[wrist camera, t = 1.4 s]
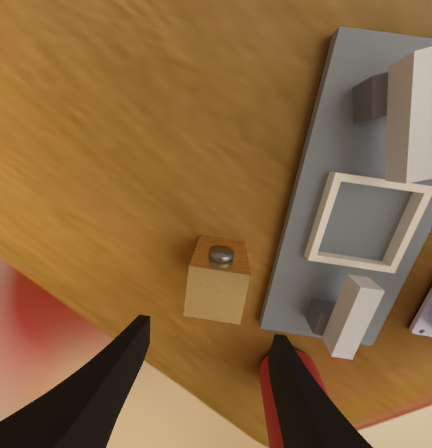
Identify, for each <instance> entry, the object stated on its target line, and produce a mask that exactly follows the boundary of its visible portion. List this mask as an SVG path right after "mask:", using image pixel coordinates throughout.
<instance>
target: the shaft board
mask: <svg viewBox="0 0 432 448" xmlns="http://www.w3.org/2000/svg"><path fill="white" fill-rule="evenodd" d="M431 229H432V38H426V37H419V36H411V35H404V34H396V33H388V32H381V31H373V30H366V29H358V28H351V27H343V26H339V28H338V29H337V30H336V31H335V32H334V34H333V35H332V38H331V42H330V46H329V50H328V54H327V58H326V62H325V66H324V70H323V73H322V77H321V81H320V85H319V89H318V93H317V97H316V101H315V105H314V109H313V112H312V116H311V120H310V124H309V128H308V132H307V136H306V140H305V144H304V148H303V151H302V155H301V159H300V163H299V167H298V171H297V175H296V179H295V183H294V187H293V190H292V194H291V198H290V202H289V206H288V210H287V214H286V218H285V222H284V226H283V229H282V233H281V237H280V241H279V245H278V249H277V253H276V257H275V261H274V265H273V268H272V272H271V276H270V280H269V284H268V288H267V292H266V296H265V300H264V303H263V307H262V311H261V315H260V319H259V325H260V329H266V330H273V331H279V332H285V333H292V334H298V335H304V336H311V337H317V338H322V340H323V342H324V344H325V345H326V347H327V349H328V351H329V353H330V355H331V356H332V357H338V358H345V359H351V360H352V359H353V357H354V355H355V353H356V351H357V349H358V347H359V345H360V344H362V345H368V346H372V345H373V343H374V341H375V340H376V338H377V336H378V334H379V332H380V330H381V328H382V326H383V324H384V322H385V320H386V318H387V316H388V314H389V312H390V310H391V308H392V306H393V304H394V302H395V300H396V298H397V296H398V294H399V292H400V290H401V288H402V286H403V284H404V282H405V280H406V278H407V276H408V274H409V272H410V270H411V268H412V266H413V264H414V262H415V260H416V258H417V256H418V254H419V252H420V250H421V248H422V246H423V245H424V243H425V241H426V239H427V237H428V235H429V233H430V231H431Z"/></svg>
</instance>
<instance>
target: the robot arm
mask: <svg viewBox="0 0 432 448" xmlns="http://www.w3.org/2000/svg"><path fill="white" fill-rule="evenodd" d="M409 330H410V331H411V332H412V333H413V334H417V335H424V336H430V337H432V288H431V290H430V291H429V293H428V295H427V297H426V298H425V300H424V302H423V304H422V306H421V307H420V309H419V311H418V313H417V315H416V316H415V318H414V320H413V322H412V323H411V325H410V327H409ZM149 344H150V316H145V315H139V316H137V318H136V319H135V320H134V321H133V322H132V323H131V324H130V325H129V326H128V327H127V328H126V329H125V330H124V331H123V332H121V333H120V334H119V335H118V336H117V337H116V338H115V339H114V340H113V341H112V342H111V343H110V344H109V345H108V346H107V347H105V348H104V349H103V350H102V351H101V352H99V353H98V354H97V355H96V356H95V357H94V358H92V359H91V360H90V361H89V362H88V363H86V364H85V365H84V366H83V367H81V368H80V369H79V370H77V371H76V372H75V373H73V374H72V375H71V376H69V377H68V378H67V379H65V380H64V381H63V382H61V383H60V384H58V385H57V386H55V387H54V388H53V389H51V390H50V391H48V392H47V393H45V394H44V395H42V396H41V397H39V398H38V399H36V400H34V401H33V402H31V403H30V404H28V405H27V406H25V407H23V408H22V409H20V410H18V411H17V412H15V413H14V414H12V415H10V416H9V417H7V418H5V419H4V420H2V421H0V448H106V446H107V443H108V441H109V438H110V435H111V433H112V430H113V428H114V425H115V422H116V420H117V417H118V415H119V413H120V411H121V408H122V406H123V404H124V402H125V400H126V398H127V396H128V394H129V392H130V389H131V387H132V385H133V383H134V381H135V379H136V376H137V374H138V372H139V370H140V367H141V366H142V364H143V361H144V358H145V355H146V352H147V350H148V347H149ZM268 368H269V376H270V383H271V388H272V393H273V398H274V402H275V407H276V411H277V416H278V420H279V425H280V430H281V434H282V439H283V445H284V448H373V447H372V446H371V445H370V444H369V443H368V442H367V441H366V440H365V439H364V438H363V437H362V436H361V435H360V434H359V433H358V431H357V430H356V429H355V428H354V427H353V426H352V425H351V424H350V423H349V421H348V420H347V419H346V418H345V417H344V415H343V414H342V413H341V412H340V411H339V410H338V408H337V407H336V406H335V405H334V403H333V402H332V401H331V400H330V398H329V397H328V396H327V395H326V393H325V392H324V391H323V389H322V388H321V387H320V385H319V384H318V383H317V381H316V380H315V378H314V377H313V376H312V374H311V373H310V371H309V370H308V368H307V367H306V366H305V364H304V363H303V361H302V360H301V358H300V357H299V355H298V354H297V352H296V351H295V349H294V347H293V346H292V344H291V343H290V341H289V340H288V338H287V337H286V336H285V335H278V334H275V336H274V339H273V343H272V347H271V350H270V354H269V358H268Z"/></svg>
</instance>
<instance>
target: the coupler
mask: <svg viewBox="0 0 432 448" xmlns="http://www.w3.org/2000/svg"><path fill="white" fill-rule="evenodd" d="M250 277H251V273H250V268H249V263H248V258H247V253H246V247H245V242H241V241H235V240H228V239H221V238H215V237H208V236H201V235H200V237H199V240H198V243H197V245H196V248H195V251H194V253H193V256H192V259H191V261H190V264H189V269H188V278H187V288H186V297H185V307H184V316H187V317H193V318H200V319H206V320H213V321H219V322H226V323H232V324H239V325H240V323H241V318H242V314H243V309H244V305H245V300H246V296H247V291H248V286H249V282H250Z"/></svg>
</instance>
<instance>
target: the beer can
mask: <svg viewBox="0 0 432 448" xmlns="http://www.w3.org/2000/svg"><path fill="white" fill-rule="evenodd" d="M295 351H296V352H297V354H298V355H299V357H300V358H301V360H302V361H303V363H304V364H305V366H306V367H307V368H308V370H309V371H310V373H311V374H312V376H313V377H314V378H315V380H316V381H317V383H318V384H319V385H320V387H321V388H322V389H323V391H324V392H325V393H326V395H327V396H328V394H327V392H326V389H325V387H324V385H323V382H322V380H321V377H320V375H319V373H318V370H317V368H316V366H315V364H314V362H313V361H312V359H311V358H310V357H309V356H307V355H306V354H304V353H303V352H301V351H298V350H295ZM268 358H269V354H268V355H267V356H266V357H265V358H264V359H263V361H262V362H261V364H260V369H259V376H260V383H261V390H262V397H263V404H264V411H265V418H266V425H267V432H268V439H269V446H270V448H284V445H283V439H282V434H281V430H280V425H279V420H278V416H277V411H276V407H275V402H274V398H273V393H272V388H271V383H270V376H269V368H268ZM328 397H329V396H328Z"/></svg>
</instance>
